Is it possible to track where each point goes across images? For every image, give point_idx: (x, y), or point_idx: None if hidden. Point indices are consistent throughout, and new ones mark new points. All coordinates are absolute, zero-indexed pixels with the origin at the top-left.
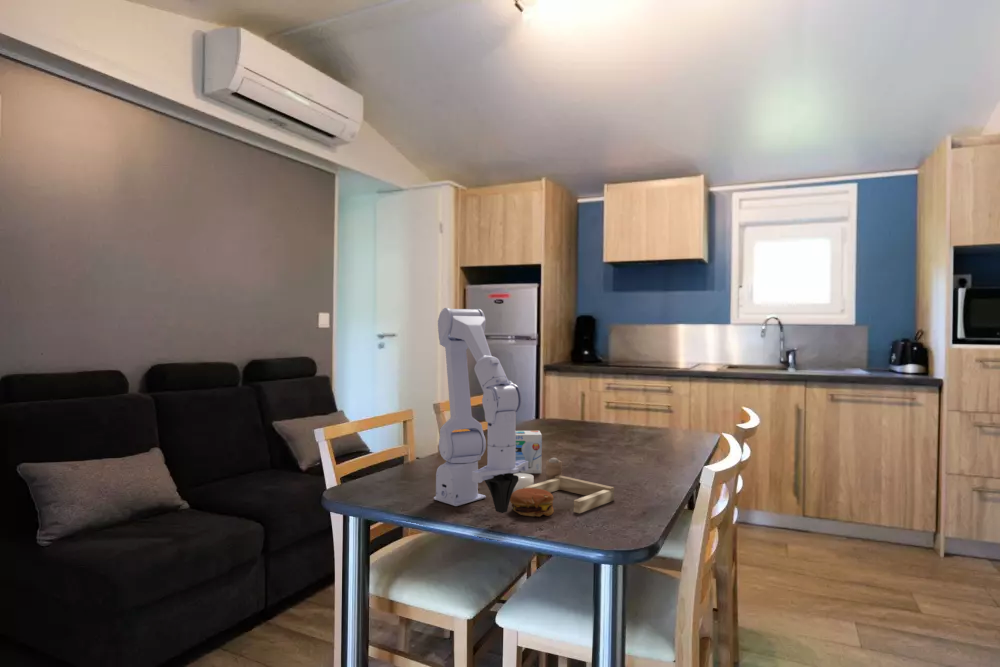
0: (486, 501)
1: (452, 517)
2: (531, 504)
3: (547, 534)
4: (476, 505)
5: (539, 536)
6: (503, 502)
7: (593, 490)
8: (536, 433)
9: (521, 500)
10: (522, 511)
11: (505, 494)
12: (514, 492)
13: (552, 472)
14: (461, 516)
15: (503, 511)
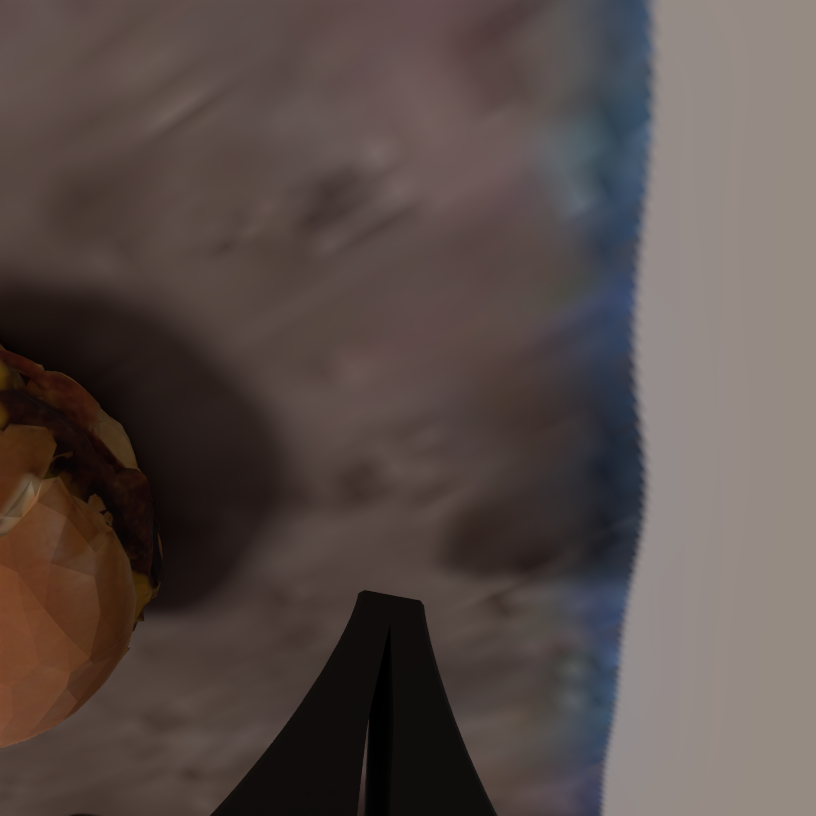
0: (103, 793)
1: None
2: (65, 491)
3: (433, 44)
4: (209, 803)
5: (535, 93)
6: (439, 684)
7: None
8: None
9: (100, 603)
10: (152, 522)
11: (423, 768)
12: (4, 739)
13: None
14: None
15: (418, 608)
